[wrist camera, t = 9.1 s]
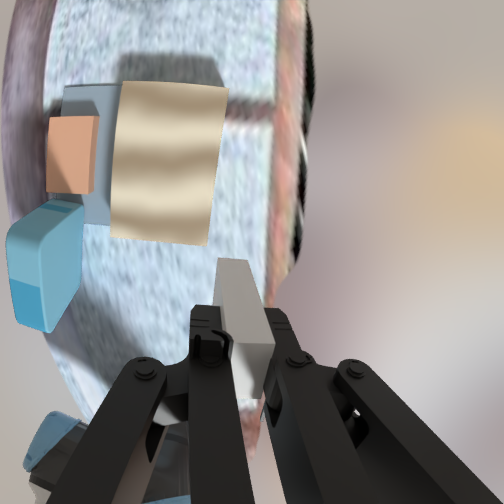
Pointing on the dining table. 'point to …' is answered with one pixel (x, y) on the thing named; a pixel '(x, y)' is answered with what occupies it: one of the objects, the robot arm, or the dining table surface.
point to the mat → (105, 106)
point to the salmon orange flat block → (71, 154)
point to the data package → (45, 262)
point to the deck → (166, 161)
